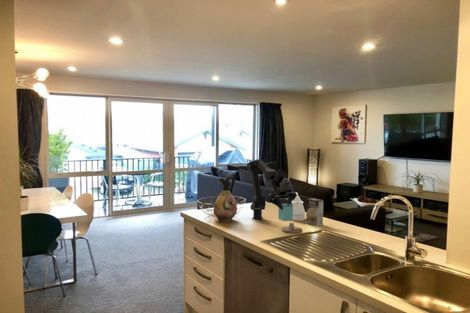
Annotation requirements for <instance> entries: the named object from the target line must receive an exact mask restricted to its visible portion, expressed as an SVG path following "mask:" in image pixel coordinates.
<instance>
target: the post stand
mask: <svg viewBox="0 0 470 313" xmlns="http://www.w3.org/2000/svg"><path fill="white" fill-rule="evenodd" d="M294 224H295V223H294V222H289V224H288V226H286V225H285V226H283V227H281V231H282V232H283V233H285V234H299V233H302V231H303V230H302V228H301V227H299V226H295V225H294Z"/></svg>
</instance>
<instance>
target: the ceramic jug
mask: <svg viewBox="0 0 470 313" xmlns="http://www.w3.org/2000/svg"><path fill="white" fill-rule="evenodd" d="M229 180H231V182H230V181H229ZM235 182H236V179H235V176H233V175H227V177H225V178H219V179H218V181H217V183H218V185H220V186H223V189H222V190H221V192H220V193H219V194H218V196H217V198H216V200H215V201H214V205H213V212H214V213H213V214H214V216H215V217H216V218H217V221H218V222H221V223H228V222H229V223H230V222H232V221H233V218H234V217H235V216H236V214H237V212H238V205H237V201H236V199H235V197H234V196H233V188H234V186H235V184H236V183H235ZM229 186H230V187H229Z"/></svg>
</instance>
